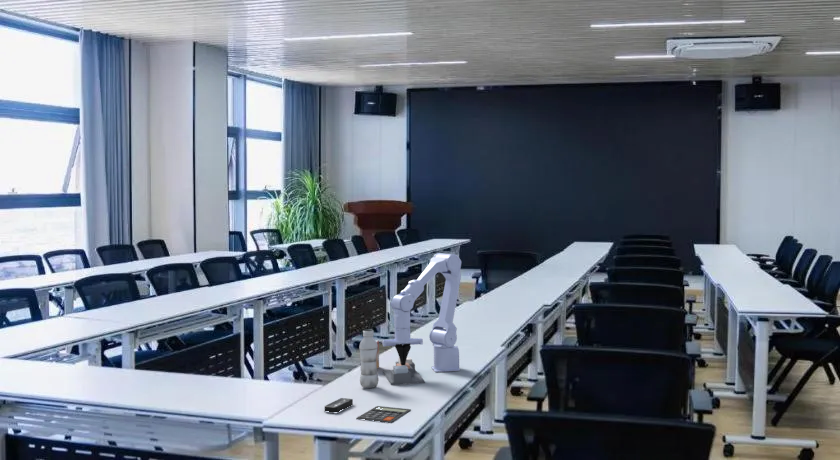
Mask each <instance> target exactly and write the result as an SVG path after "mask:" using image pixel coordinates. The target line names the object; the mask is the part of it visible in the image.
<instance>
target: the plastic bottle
mask: <svg viewBox="0 0 840 460" xmlns="http://www.w3.org/2000/svg"><path fill="white" fill-rule="evenodd" d="M374 336H375V335H374V330H373V329H364V330H362V337H363V338H362V339H361V341H360V343H359V346H358V347H359V356H360V355H361V365H360V377H359V384H360V386H361V387H362V388H365V389H372V388H373V389H374V388H376V387H377V386H378V385H379V375H378V368H377V366H376V359H377V348H378V345H377V342H376V341H375V340H376V339H375V338H374Z"/></svg>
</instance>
